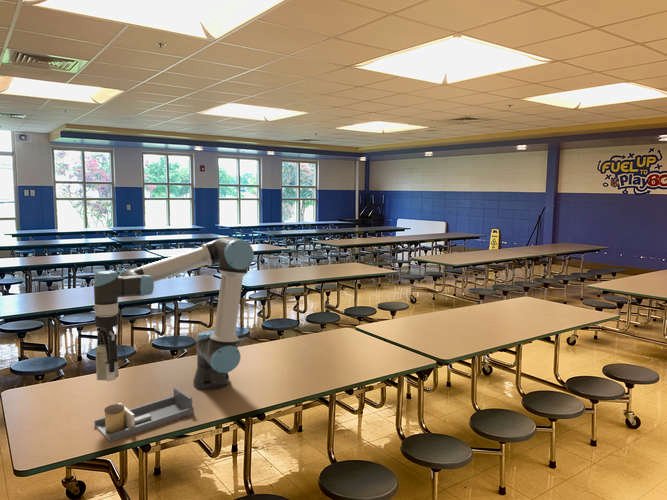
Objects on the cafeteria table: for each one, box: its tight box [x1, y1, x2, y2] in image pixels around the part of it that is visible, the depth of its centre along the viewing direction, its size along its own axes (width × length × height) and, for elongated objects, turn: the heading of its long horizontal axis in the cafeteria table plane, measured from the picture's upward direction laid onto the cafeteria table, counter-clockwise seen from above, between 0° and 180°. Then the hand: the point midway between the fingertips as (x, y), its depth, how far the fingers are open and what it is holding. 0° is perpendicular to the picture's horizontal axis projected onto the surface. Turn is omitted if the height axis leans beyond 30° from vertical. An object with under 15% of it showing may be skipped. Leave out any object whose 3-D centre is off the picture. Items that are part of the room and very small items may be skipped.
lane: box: [93, 387, 195, 443], centre depth 171 cm, size 15×30×6 cm, turn 135°
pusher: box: [117, 402, 151, 428], centre depth 169 cm, size 12×9×6 cm
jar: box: [104, 403, 125, 434], centre depth 163 cm, size 6×6×8 cm
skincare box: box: [94, 344, 120, 381], centre depth 169 cm, size 6×4×12 cm
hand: (107, 376), depth 169 cm, fingers closed on skincare box, 7 cm apart
